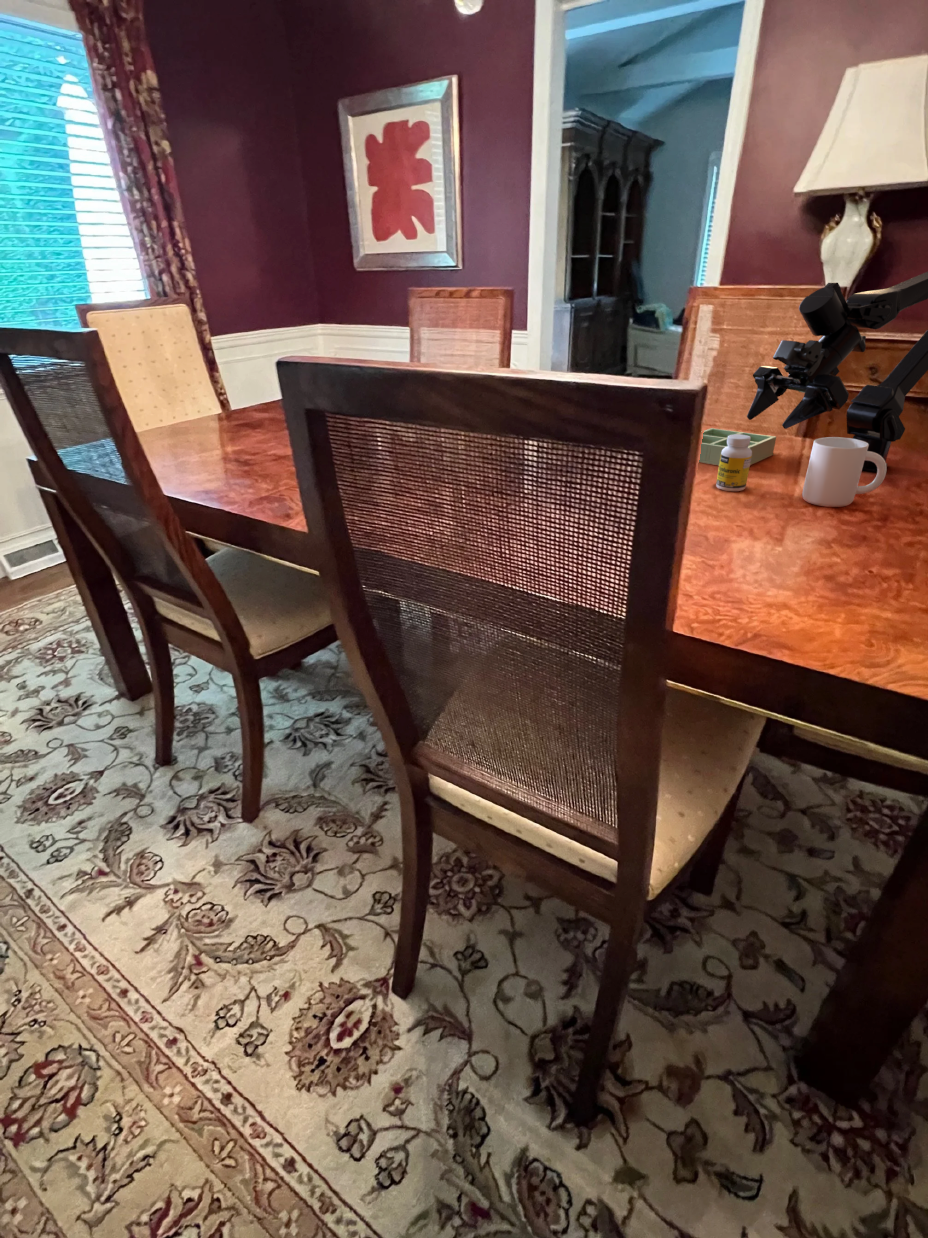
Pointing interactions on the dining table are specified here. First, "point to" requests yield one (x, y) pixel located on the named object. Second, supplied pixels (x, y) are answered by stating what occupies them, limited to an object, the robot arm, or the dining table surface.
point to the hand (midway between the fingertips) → (765, 422)
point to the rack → (717, 442)
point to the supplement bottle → (734, 463)
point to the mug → (839, 471)
